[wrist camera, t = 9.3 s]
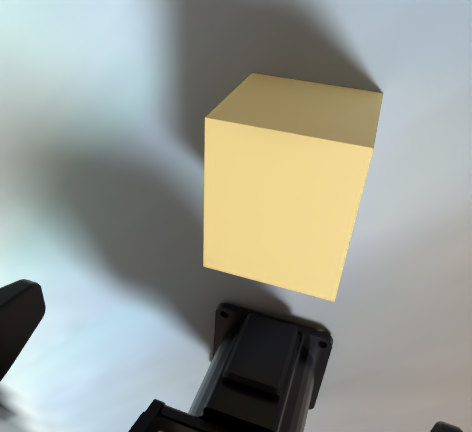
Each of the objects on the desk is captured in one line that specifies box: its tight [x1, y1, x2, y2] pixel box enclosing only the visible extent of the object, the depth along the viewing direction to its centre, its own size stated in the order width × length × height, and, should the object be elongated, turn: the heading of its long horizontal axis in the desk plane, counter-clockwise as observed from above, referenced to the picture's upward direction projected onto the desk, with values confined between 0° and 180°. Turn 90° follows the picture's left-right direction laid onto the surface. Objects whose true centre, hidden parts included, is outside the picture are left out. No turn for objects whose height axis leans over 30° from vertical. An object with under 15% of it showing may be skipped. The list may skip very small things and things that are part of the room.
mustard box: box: [203, 73, 383, 301], centre depth 16 cm, size 6×5×5 cm
